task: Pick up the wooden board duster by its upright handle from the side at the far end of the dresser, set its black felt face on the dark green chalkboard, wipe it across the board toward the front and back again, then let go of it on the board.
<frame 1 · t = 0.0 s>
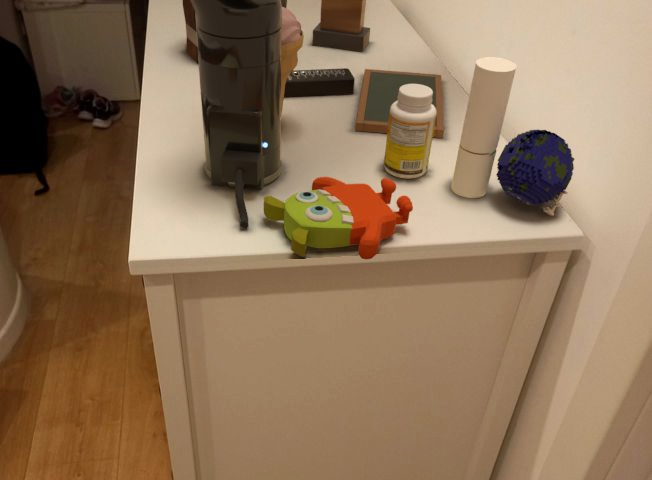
toy: (402, 203, 78), point 2 cm above the dresser
ice cream cone: (261, 127, 95), on the dresser
mug: (239, 58, 114), on the dresser
globe: (519, 200, 80), point 1 cm above the dresser
multiport hub: (315, 91, 105), on the dresser
chalkboard: (400, 104, 102), on the dresser
duster: (340, 43, 120), on the dresser
tube: (468, 190, 84), on the dresser
supplement bottle: (404, 171, 87), on the dresser
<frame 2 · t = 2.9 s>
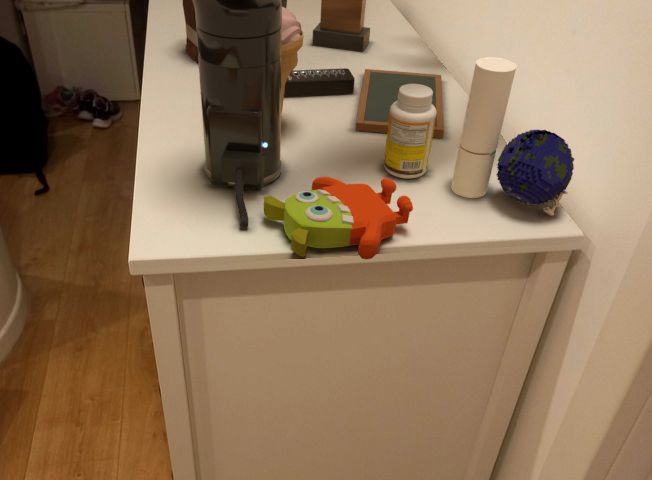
nothing on the dresser moved.
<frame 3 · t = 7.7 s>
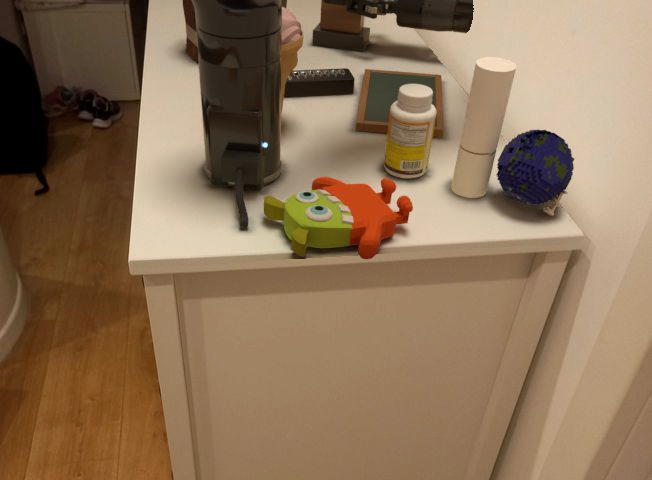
duster: (340, 43, 120), on the dresser, touching gripper
everything else where it was.
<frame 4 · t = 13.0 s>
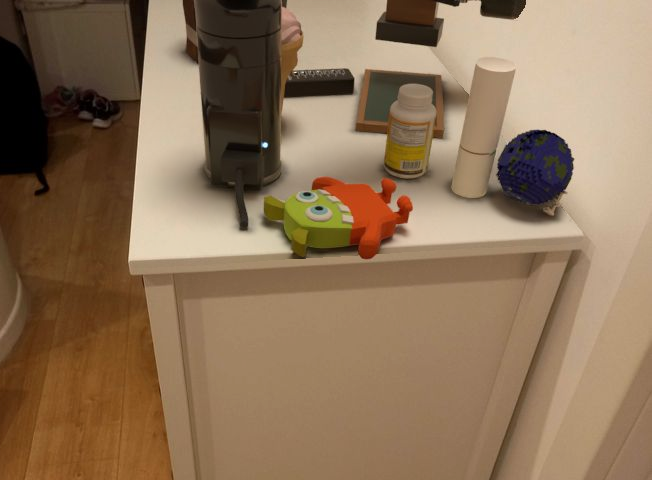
duster: (408, 38, 101), point 8 cm above the dresser, touching gripper
everything else where it was.
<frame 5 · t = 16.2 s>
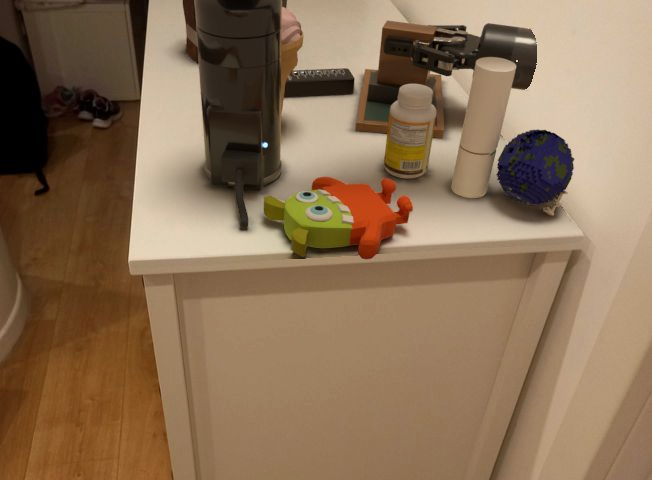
hand: (388, 40, 96), 9 cm above the dresser, tool horizontal, fingers closed on duster, 3 cm apart
duster: (400, 98, 101), point 1 cm above the dresser, touching gripper
everything else where it was.
when the fingers open (9 cm above the dresser, at t = 18.5 s): duster stays where it is, resting on chalkboard.
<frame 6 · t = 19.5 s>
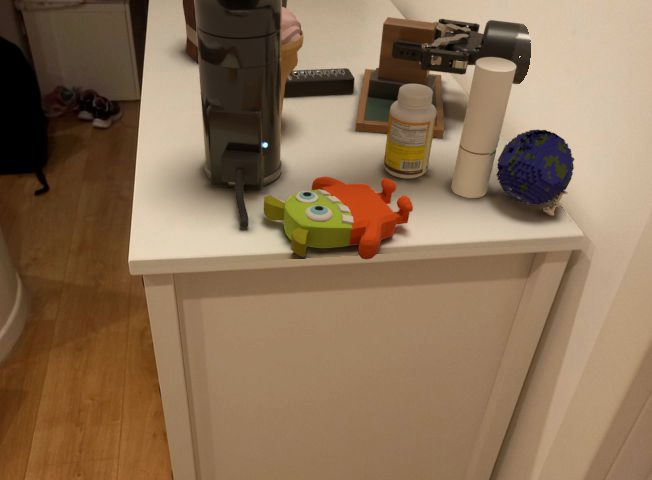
hand: (398, 38, 97), 9 cm above the dresser, tool horizontal, fingers open, 8 cm apart
duster: (401, 94, 102), point 1 cm above the dresser, touching chalkboard
everything else where it was.
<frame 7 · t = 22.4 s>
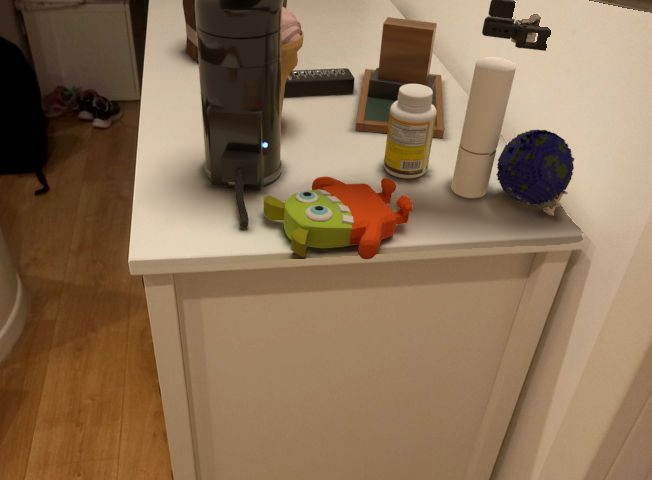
hand: (486, 16, 92), 13 cm above the dresser, tool horizontal, fingers open, 8 cm apart
nothing on the dresser moved.
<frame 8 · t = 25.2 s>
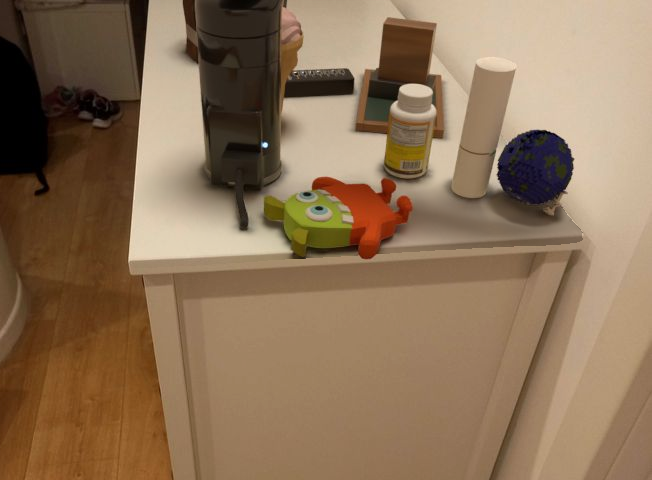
nothing on the dresser moved.
at the end: duster inside the target area on the chalkboard (0.8 cm from its centre), point 1.2 cm above the chalkboard's base; duster tilted 0°; the gripper is holding nothing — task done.
